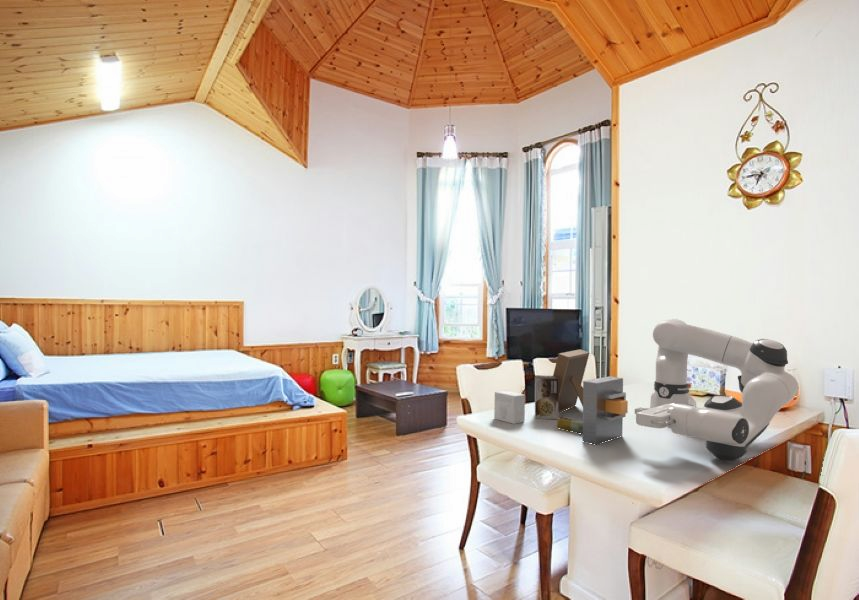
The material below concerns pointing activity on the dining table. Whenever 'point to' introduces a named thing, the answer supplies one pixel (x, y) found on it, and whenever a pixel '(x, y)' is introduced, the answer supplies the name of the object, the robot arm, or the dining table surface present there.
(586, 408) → the panel
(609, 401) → the plunger
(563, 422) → the medication box
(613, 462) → the dining table surface
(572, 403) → the photo frame
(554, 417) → the coffee box
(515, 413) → the skincare box
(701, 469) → the dining table surface
